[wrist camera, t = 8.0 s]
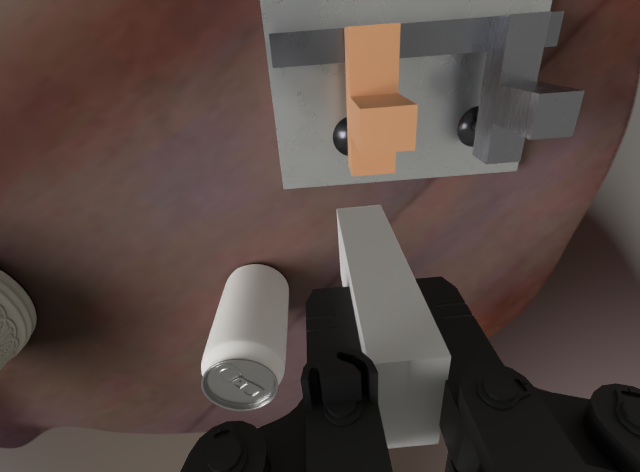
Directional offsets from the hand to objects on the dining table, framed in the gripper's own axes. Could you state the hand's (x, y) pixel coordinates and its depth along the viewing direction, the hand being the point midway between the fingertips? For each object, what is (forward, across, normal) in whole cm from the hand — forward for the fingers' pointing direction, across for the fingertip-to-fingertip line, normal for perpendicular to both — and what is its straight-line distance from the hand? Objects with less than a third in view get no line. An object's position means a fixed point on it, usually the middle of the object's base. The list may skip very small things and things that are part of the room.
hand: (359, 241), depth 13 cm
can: (+19, -8, -16) cm, 26 cm away
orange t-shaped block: (+17, +3, +2) cm, 18 cm away
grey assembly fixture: (+19, +6, +2) cm, 20 cm away
